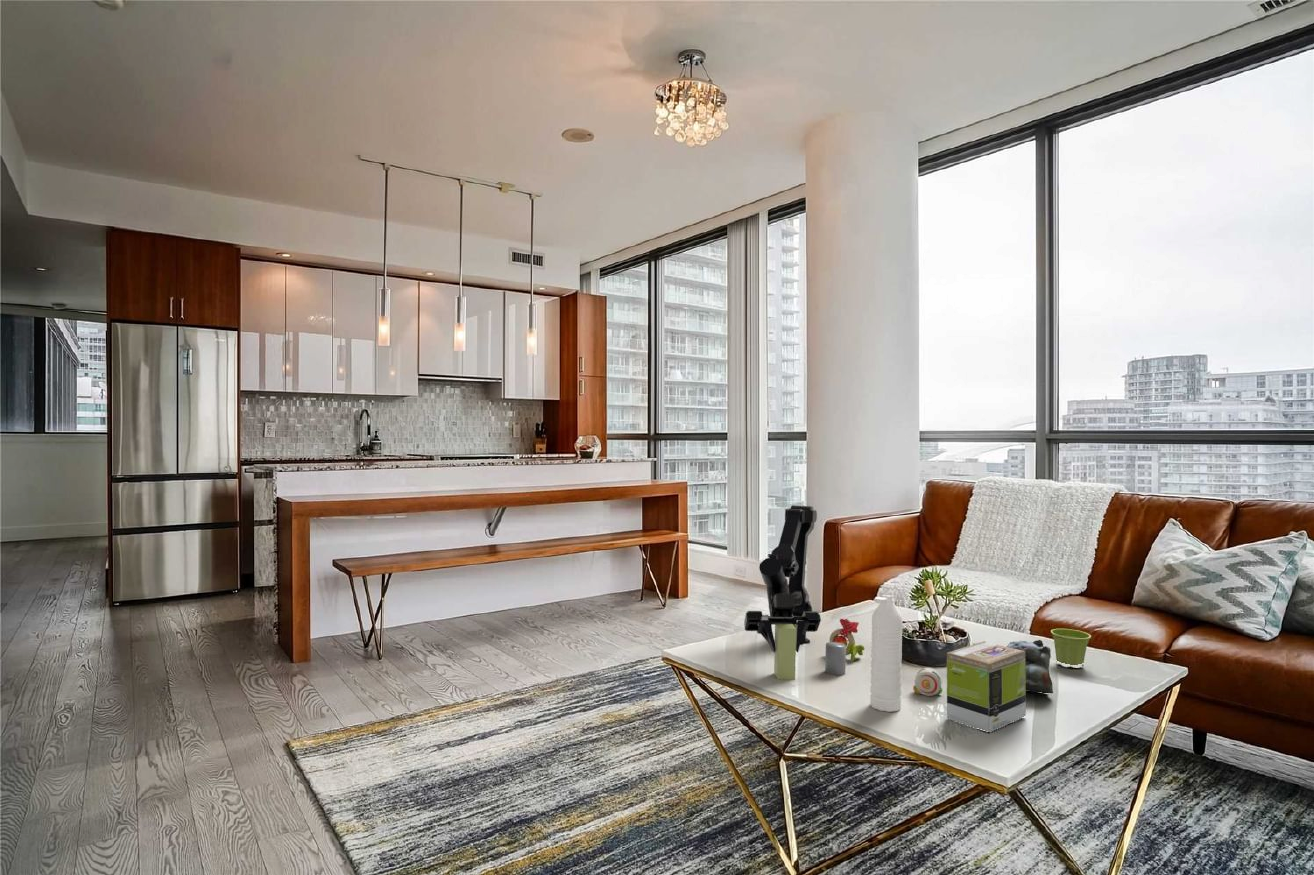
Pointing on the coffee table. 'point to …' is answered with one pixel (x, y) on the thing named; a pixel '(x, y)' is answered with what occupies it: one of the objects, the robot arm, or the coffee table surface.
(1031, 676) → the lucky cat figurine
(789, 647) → the olive brick
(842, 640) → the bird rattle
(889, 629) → the water bottle
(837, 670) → the grey cylinder
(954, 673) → the tea box
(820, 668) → the coffee table surface
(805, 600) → the robot arm
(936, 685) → the roller toy
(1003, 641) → the coffee table surface
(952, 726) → the coffee table surface
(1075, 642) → the plant pot
